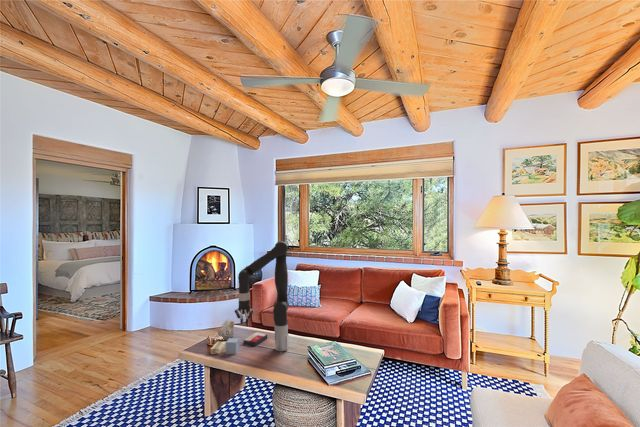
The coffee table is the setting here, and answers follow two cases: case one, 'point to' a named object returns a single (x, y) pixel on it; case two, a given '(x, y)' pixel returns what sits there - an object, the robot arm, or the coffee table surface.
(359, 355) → the coffee table surface
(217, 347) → the tan lumpy piece
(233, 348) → the block
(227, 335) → the fossil
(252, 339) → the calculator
